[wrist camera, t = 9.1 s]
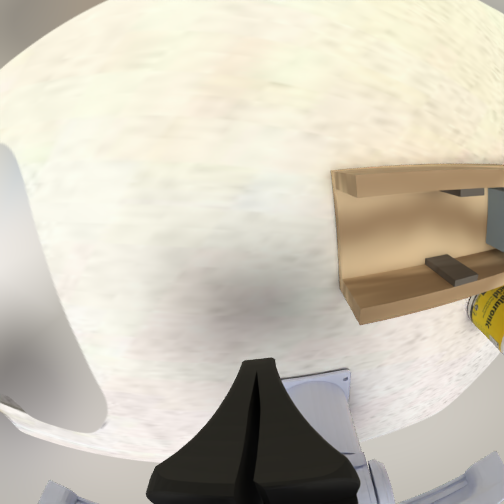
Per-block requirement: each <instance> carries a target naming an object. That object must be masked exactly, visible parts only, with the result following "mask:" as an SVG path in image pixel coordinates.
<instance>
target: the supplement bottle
mask: <svg viewBox="0 0 504 504" xmlns="http://www.w3.org/2000/svg"><path fill="white" fill-rule="evenodd" d="M468 316H469V318H470V320H471V321H472V322H473V323H474V324H475V326H477V328H478V329H479V330H480V331H481V332H482V333H483V334H484V335H485V336H486V337H487V338H488V339H489V340H490V341H491V342H492V343H493V344H494V345H495V346H496V347H497V348H498V349H499V350H500V351H501V353H502V354H504V285H503V286H500V287H498V288H495V289H492V290H489V291H486V292H483V293H480V294H477V295H474V296H471V299H470V301H469V305H468Z"/></svg>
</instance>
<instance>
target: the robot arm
mask: <svg viewBox="0 0 504 504" xmlns="http://www.w3.org/2000/svg"><path fill="white" fill-rule="evenodd" d="M345 377H346V378H345ZM350 379H351V373H350V370H348V369H345V370H340V371H335V372H330V373H324V374H318V375H312V376H306V377H299V378H292V379H285V380H281V379H280V377H279V374H278V371H277V368H276V364H275V359H274V358H264V359H255V360H245V361H243V362H242V365H241V367H240V370H239V372H238V375H237V377H236V379H235V381H234V383H233V385H232V387H231V388H230V390H229V392H228V394H227V396H226V397H225V399H224V400H223V402H222V403H221V405H220V406H219V408H218V409H217V411H216V412H215V414H214V415H213V416H212V418H211V419H210V420H209V421H208V422H207V424H206V425H205V426H204V427H203V428H202V429H201V430H200V431H199V432H198V434H197V435H196V436H195V437H194V438H193V439H191V440H190V441H189V442H188V443H187V444H186V445H185V446H183V447H182V448H181V449H180V450H179V451H178V452H176V453H175V454H174V455H172V456H171V457H169V458H168V459H166V460H165V461H163V462H162V463H160V464H159V465H157V466H156V467H155V469H154V471H153V473H152V475H151V478H150V481H149V485H148V488H147V491H146V496H147V498H148V499H149V500H150V501H151V502H152V503H154V504H395V500H394V495H393V492H392V488H391V484H390V480H389V477H388V474H387V471H386V469H385V466H384V465H383V463H380V462H377V461H376V460H375V459H374V460H370V461H368V465H369V469H368V467H367V463H366V459H365V455H364V452H362V451H361V447H360V444H359V440H358V437H357V433H356V430H355V426H354V423H353V420H352V416H351V413H350V410H349V406H348V401H349V391H350ZM369 470H370V473H369ZM503 500H504V464H503V462H502V460H501V458H500V457H499V455H498V453H497V451H494V452H492V453H490V454H489V455H487V456H485V457H484V458H482V459H480V460H479V461H477V462H476V463H474V464H473V465H472V466H470V467H469V468H468V469H467V471H466V472H465V474H463V475H461V476H459V477H457V478H455V479H453V480H451V481H449V482H447V483H445V484H443V485H441V486H439V487H437V488H435V489H432V490H430V491H428V492H425V493H423V494H420V495H418V496H415V497H413V498H410V499H408V500H405V501H402V502H400V503H396V504H499V503H501V502H502V501H503ZM38 504H97V503H95V502H92V501H89V500H86V499H84V498H81V497H79V496H77V495H76V494H75V493H74V492H73V491H71V490H70V489H68V488H66V487H64V486H62V485H60V484H58V483H55V482H53V481H51V480H49V481H48V483H47V485H46V487H45V490H44V491H43V494H42V496H41V498H40V500H39V502H38Z"/></svg>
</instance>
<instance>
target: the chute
mask: <svg viewBox="0 0 504 504" xmlns="http://www.w3.org/2000/svg"><path fill="white" fill-rule="evenodd" d="M331 176H332V185H333V194H334V204H335V215H336V227H337V241H338V257H339V279H340V290H341V292H342V294H343V295H344V297H345V299H346V301H347V303H348V304H349V306H350V308H351V310H352V312H353V313H354V315H355V317H356V319H357V321H358V322H359V324H360V325H363V324H368V323H373V322H378V321H382V320H386V319H391V318H395V317H399V316H403V315H408V314H412V313H415V312H419V311H423V310H427V309H431V308H434V307H438V306H441V305H445V304H448V303H452V302H455V301H458V300H462V299H465V298H468V297H471V296H474V295H477V294H480V293H483V292H486V291H489V290H492V289H495V288H498V287H500V286H503V285H504V252H502V251H500V250H498V249H496V248H494V247H492V246H491V245H489V244H487V243H486V234H487V219H488V188H496V187H504V165H497V164H420V165H397V166H380V167H366V168H353V169H342V170H331Z"/></svg>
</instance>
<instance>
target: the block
mask: <svg viewBox="0 0 504 504" xmlns="http://www.w3.org/2000/svg"><path fill="white" fill-rule="evenodd" d="M486 243H487V244H489V245H491V246H492V247H494V248H496V249H498V250H500V251H502V252H504V187H496V188H488V219H487V234H486Z"/></svg>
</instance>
